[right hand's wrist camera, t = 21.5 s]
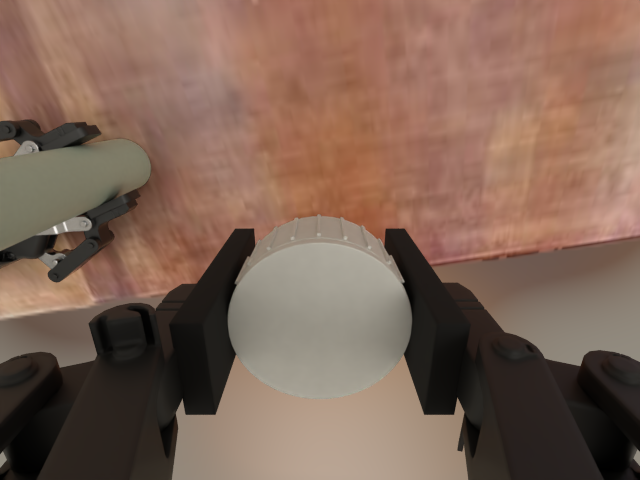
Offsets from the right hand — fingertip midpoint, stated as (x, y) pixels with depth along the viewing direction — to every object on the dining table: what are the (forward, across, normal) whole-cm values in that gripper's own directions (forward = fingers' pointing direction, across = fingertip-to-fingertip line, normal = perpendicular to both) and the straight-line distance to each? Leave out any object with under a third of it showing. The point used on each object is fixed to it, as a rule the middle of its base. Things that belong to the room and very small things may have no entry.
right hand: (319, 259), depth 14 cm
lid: (-4, 0, 0) cm, 4 cm away
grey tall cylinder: (+21, +19, -1) cm, 28 cm away
